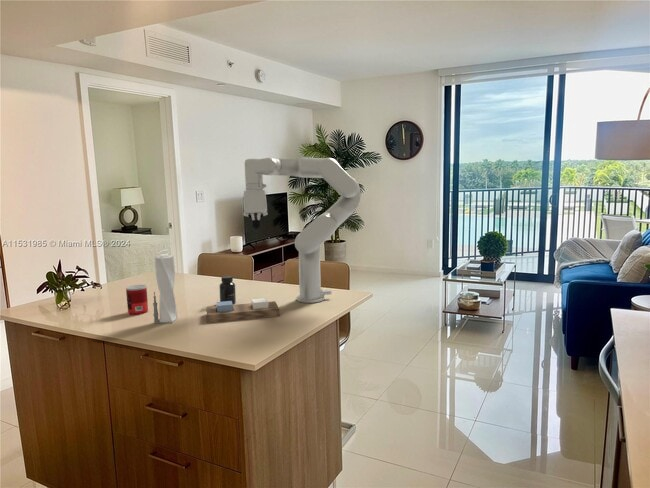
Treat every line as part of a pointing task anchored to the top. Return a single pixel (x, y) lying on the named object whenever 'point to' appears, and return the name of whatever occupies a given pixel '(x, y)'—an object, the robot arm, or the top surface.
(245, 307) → the wooden board
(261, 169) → the robot arm
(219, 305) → the light blue square block
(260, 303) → the white square block
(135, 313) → the canned food
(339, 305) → the top surface
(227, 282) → the supplement bottle
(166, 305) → the skyscraper
